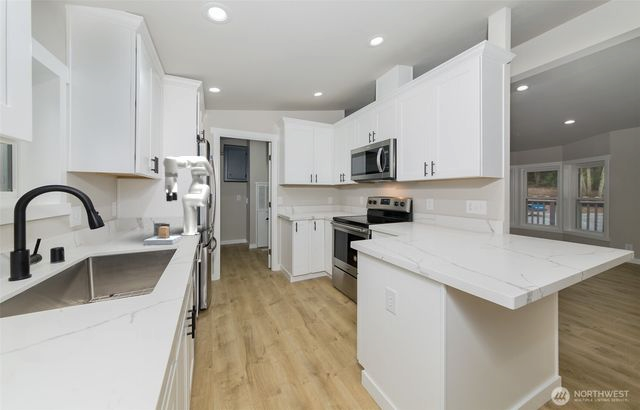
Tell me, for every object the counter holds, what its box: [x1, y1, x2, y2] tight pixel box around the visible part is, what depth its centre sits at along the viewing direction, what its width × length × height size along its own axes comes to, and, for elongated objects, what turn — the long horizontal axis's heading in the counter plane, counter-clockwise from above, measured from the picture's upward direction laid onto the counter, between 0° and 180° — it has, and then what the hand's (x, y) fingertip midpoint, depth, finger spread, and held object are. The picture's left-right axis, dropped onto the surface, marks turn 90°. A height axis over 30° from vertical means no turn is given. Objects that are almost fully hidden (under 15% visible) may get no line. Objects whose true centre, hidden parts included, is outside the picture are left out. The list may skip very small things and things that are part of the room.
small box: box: [153, 222, 171, 237], centre depth 180 cm, size 11×6×10 cm, turn 56°
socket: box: [143, 235, 182, 246], centre depth 164 cm, size 16×16×3 cm
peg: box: [159, 227, 170, 239], centre depth 164 cm, size 4×4×10 cm
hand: (172, 200), depth 172 cm, fingers open, 9 cm apart
